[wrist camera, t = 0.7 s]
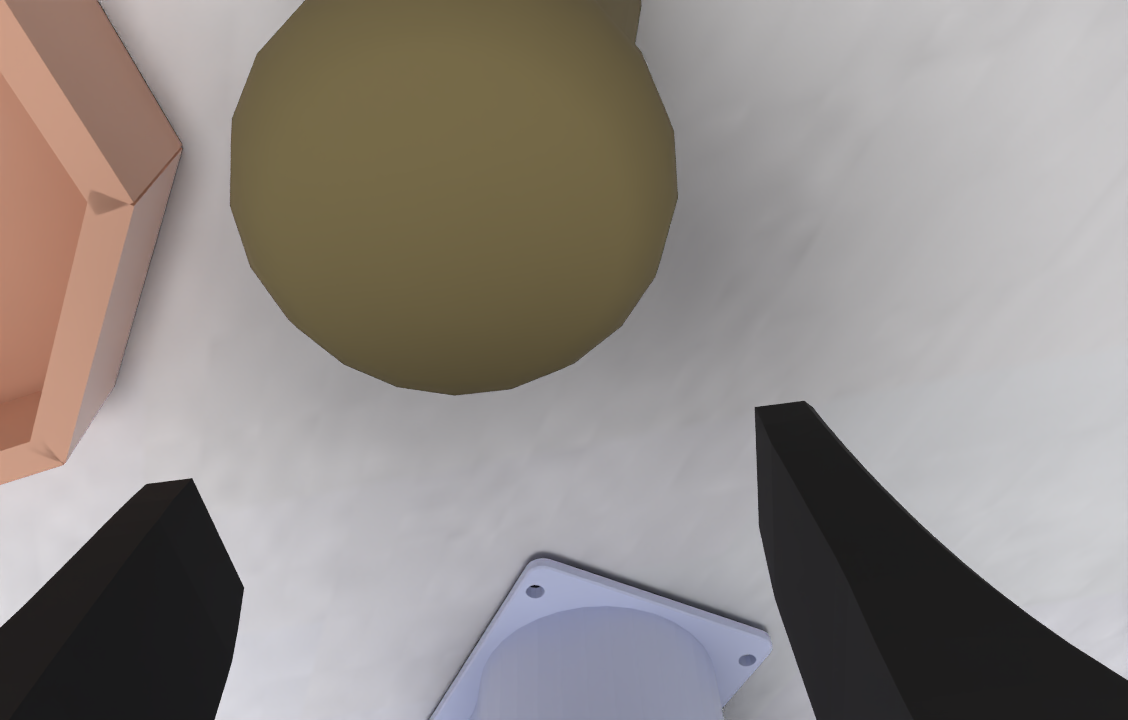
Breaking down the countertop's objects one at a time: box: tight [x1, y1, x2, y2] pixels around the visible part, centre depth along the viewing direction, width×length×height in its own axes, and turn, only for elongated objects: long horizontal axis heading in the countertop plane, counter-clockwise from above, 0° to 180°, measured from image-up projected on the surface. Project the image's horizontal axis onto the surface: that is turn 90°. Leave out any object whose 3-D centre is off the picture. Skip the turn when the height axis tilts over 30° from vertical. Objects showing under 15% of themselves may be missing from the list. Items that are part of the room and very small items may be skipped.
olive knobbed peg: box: [230, 0, 678, 395], centre depth 15 cm, size 6×6×11 cm
